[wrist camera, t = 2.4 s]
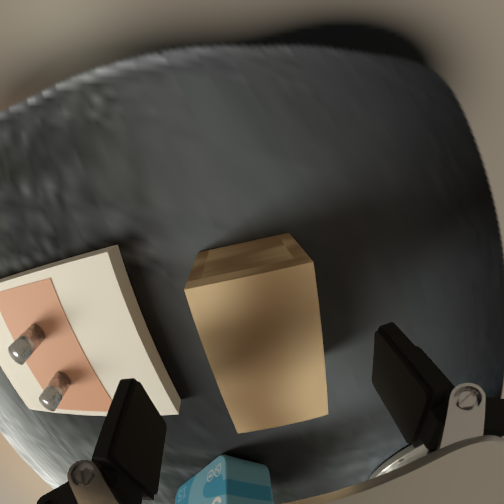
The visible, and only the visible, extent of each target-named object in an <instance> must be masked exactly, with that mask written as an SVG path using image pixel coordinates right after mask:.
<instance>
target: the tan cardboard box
mask: <svg viewBox="0 0 504 504" xmlns="http://www.w3.org/2000/svg"><path fill="white" fill-rule="evenodd" d="M184 291H185V294H186V297H187V300H188V303H189V306H190V309H191V312H192V315H193V318H194V321H195V324H196V327H197V330H198V333H199V336H200V339H201V341H202V344H203V347H204V350H205V353H206V355H207V358H208V361H209V363H210V366H211V369H212V371H213V374H214V376H215V379H216V382H217V384H218V387H219V389H220V392H221V394H222V397H223V399H224V402H225V404H226V406H227V409H228V411H229V414H230V416H231V418H232V421H233V423H234V425H235V428H236V430H237V432H238V433H244V432H250V431H256V430H262V429H268V428H273V427H278V426H283V425H288V424H292V423H297V422H301V421H305V420H309V419H313V418H317V417H321V416H324V415H328V402H327V386H326V372H325V360H324V349H323V338H322V328H321V319H320V310H319V301H318V293H317V285H316V277H315V270H314V262H313V261H312V260H311V258H310V257H309V256H308V255H307V254H306V252H305V251H304V250H303V249H302V248H301V247H300V245H299V244H298V243H297V242H296V241H295V239H294V238H293V237H292V236H291V235H290V234H289V233H285V234H281V235H276V236H271V237H267V238H262V239H257V240H253V241H248V242H244V243H239V244H234V245H230V246H225V247H221V248H216V249H212V250H207V251H203V252H198V255H197V257H196V260H195V262H194V265H193V268H192V270H191V273H190V275H189V278H188V281H187V283H186V286H185V289H184Z"/></svg>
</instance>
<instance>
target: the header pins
mask: <svg viewBox="0 0 504 504" xmlns="http://www.w3.org/2000/svg"><path fill="white" fill-rule="evenodd" d="M44 340H45V333H44V331H43V330H42V328H41V327H40V326H39V325H37V324H31V325H30V326H29V327H28V328H27V329H26V330H25V331H24V332H23V333H22V334H21V335H20V336H19V337H18V338H17V339H16V340H15V341H14V342H13V343H12V344H11V345H10V346H9V347H8V351H9V354H10V356H11V358H12V359H13V360H14V361H15V362H16V363H18V364H20V365H23V364H24V363H25V362H26V360H27V359H28V358H29V357H30V356H31V355H32V353H33V352H34V351H35V350H36V349H37V348H38V347H39V345H40V344H41V343H42V342H43V341H44ZM70 385H71V380H70V378H69V377H68V376H67V375H66V374H65V373H63V372H61V371H57V372H56V373H55V375H54V376H53V378H52V379H51V380H50V382H49V383H48V385H47V386H46V388H45V389H44V391H43V392H42V394H41V395H40V397H39V401H40V403H41V404H42V405H43V406H44V407H45V408H46V409H48V410H50V411H55V410H56V408H57V407H58V405H59V403H60V401H61V400H62V398H63V396H64V395H65V393H66V391H67V390H68V388H69V386H70Z"/></svg>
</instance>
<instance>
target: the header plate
mask: <svg viewBox="0 0 504 504" xmlns="http://www.w3.org/2000/svg"><path fill="white" fill-rule="evenodd" d="M31 324H37V325H39V326H40V327H41V328H42V330H43V331H44V333H45V340H44V341H43V342H42V343H41V344H40V345H39V347H38V348H37V349H36V350H35V351H34V352H33V353H32V355H31V356H30V357H29V358H28V359H27V360H26V362H25V363H24V364H23V365H20V364H18V363H16V362H15V361H14V360H13V359H12V358H11V356H10V354H9V351H8V347H9V346H10V345H11V344H12V343H13V342H14V341H15V340H16V339H17V338H18V337H19V336H20V335H21V334H22V333H23V332H24V331H25V330H26V329H27V328H28V327H29V326H30V325H31ZM0 366H1V367H2V369H3V371H4V372H5V374H6V376H7V377H8V379H9V380H10V382H11V383H12V385H13V386H14V388H15V389H16V391H17V392H18V394H19V395H20V397H21V398H22V400H23V401H24V402H25V404H26V405H27V406H28V408H29V409H32V410H39V411H47V412H55V413H65V414H77V415H93V416H107V413H108V410H109V407H110V405H111V402H112V399H113V397H114V394H115V392H116V389H117V387H118V384H119V382H120V380H121V379H130V378H134V379H136V380H137V381H139V382H141V384H142V386H143V387H144V389H145V391H146V392H147V394H148V396H149V397H150V399H151V401H152V402H153V404H154V406H155V407H156V409H157V410H158V412H159V413H160V415H175V414H179V409H180V403H181V399H180V397H179V395H178V393H177V391H176V389H175V387H174V385H173V383H172V381H171V379H170V377H169V375H168V373H167V371H166V369H165V367H164V364H163V362H162V360H161V358H160V356H159V353H158V351H157V349H156V347H155V344H154V342H153V340H152V337H151V335H150V333H149V330H148V328H147V326H146V323H145V321H144V318H143V316H142V313H141V310H140V308H139V305H138V303H137V300H136V297H135V295H134V292H133V289H132V286H131V284H130V281H129V278H128V275H127V272H126V269H125V266H124V263H123V260H122V257H121V254H120V250H119V247H118V244H117V245H114V246H110V247H106V248H103V249H99V250H95V251H92V252H88V253H85V254H81V255H77V256H74V257H70V258H67V259H64V260H60V261H57V262H53V263H50V264H47V265H43V266H40V267H37V268H33V269H30V270H27V271H24V272H21V273H17V274H14V275H11V276H8V277H5V278H2V279H0ZM57 371H61V372H63V373H65V374H66V375H67V376H68V377H69V378H70V380H71V385H70V386H69V388H68V390H67V391H66V393H65V395H64V396H63V398H62V400H61V401H60V403H59V405H58V407H57V408H56V410H55V411H50V410H48V409H46V408H45V407H44V406H43V405H42V404H41V403H40V401H39V397H40V395H41V394H42V392H43V391H44V389H45V388H46V386H47V385H48V383H49V382H50V380H51V379H52V378H53V376H54V375H55V373H56V372H57Z"/></svg>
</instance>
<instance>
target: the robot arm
mask: <svg viewBox="0 0 504 504" xmlns="http://www.w3.org/2000/svg"><path fill="white" fill-rule="evenodd" d="M372 382H373V385H374V387H375V389H376V391H377V392H378V394H379V396H380V397H381V399H382V401H383V402H384V404H385V406H386V407H387V409H388V411H389V413H390V414H391V416H392V418H393V419H394V421H395V423H396V425H397V426H398V428H399V430H400V432H401V433H402V435H403V437H404V439H405V440H406V442H407V443H408V444H411V443H412V445H410V446H408V447H406V448H405V449H403V450H402V451H400V452H398V453H397V454H395V455H394V456H393V457H391V458H390V459H388V460H387V461H386V462H384V463H383V464H382V465H381V466H380V467H378V468H377V469H376V470H375V471H374V472H373V474H372V475H371V476H370V478H369V480H367V481H364V482H362V483H359V484H356V485H353V486H350V487H347V488H344V489H340V490H337V491H334V492H330V493H327V494H323V495H319V496H315V497H311V498H307V499H303V500H298V501H293V502H288V503H283V504H504V399H498V398H487V397H485V393H484V391H483V389H481V388H480V387H479V386H478V385H476V384H472V383H463V384H460V385H458V386H457V387H454V386H453V384H452V383H451V382H450V381H449V380H448V379H447V377H446V376H445V375H444V374H443V373H442V372H441V371H440V369H439V368H438V367H437V366H436V365H435V364H434V363H433V362H432V360H431V359H430V358H429V357H428V356H427V355H426V354H425V353H424V351H423V350H422V349H421V348H419V347H417V346H415V345H414V344H413V343H412V342H411V341H410V340H409V339H408V338H407V337H406V335H405V334H404V333H403V332H402V331H401V330H400V329H399V328H398V327H397V326H396V325H395V324H394V323H393V322H391V323H388V324H385V325H382V326H380V327H379V328H378V331H376V332H375V339H374V358H373V372H372ZM165 435H166V423H165V421H164V420H163V418H162V416H161V415H160V413H159V412H158V410H157V409H156V407H155V406H154V404H153V402H152V401H151V399H150V397H149V396H148V394H147V392H146V391H145V389H144V387H143V386H142V384H141V382H139V381H137V380H136V379H134V378H130V379H121V380H120V382H119V384H118V387H117V389H116V392H115V394H114V397H113V399H112V402H111V405H110V407H109V410H108V413H107V416H106V418H105V421H104V424H103V427H102V430H101V432H100V435H99V438H98V441H97V444H96V447H95V450H94V453H93V456H92V457H93V458H92V461H90V460H80V461H77V462H75V463H74V464H73V465H72V466H71V467H70V469H69V471H68V476H67V477H68V482H66V483H65V484H63V485H61V486H59V487H58V488H56V489H54V490H52V491H51V492H49V493H47V494H46V495H43V496H42V497H41V498H40V499H39V500H38V501H37V504H141V503H142V499H143V500H154V494H157V492H158V486H159V478H160V470H161V463H162V455H163V449H164V442H165Z"/></svg>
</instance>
